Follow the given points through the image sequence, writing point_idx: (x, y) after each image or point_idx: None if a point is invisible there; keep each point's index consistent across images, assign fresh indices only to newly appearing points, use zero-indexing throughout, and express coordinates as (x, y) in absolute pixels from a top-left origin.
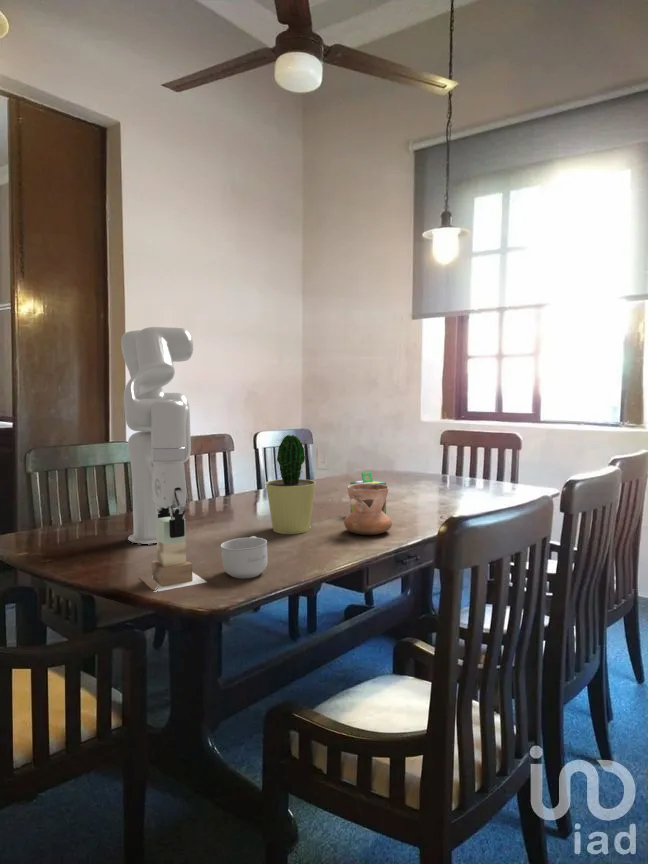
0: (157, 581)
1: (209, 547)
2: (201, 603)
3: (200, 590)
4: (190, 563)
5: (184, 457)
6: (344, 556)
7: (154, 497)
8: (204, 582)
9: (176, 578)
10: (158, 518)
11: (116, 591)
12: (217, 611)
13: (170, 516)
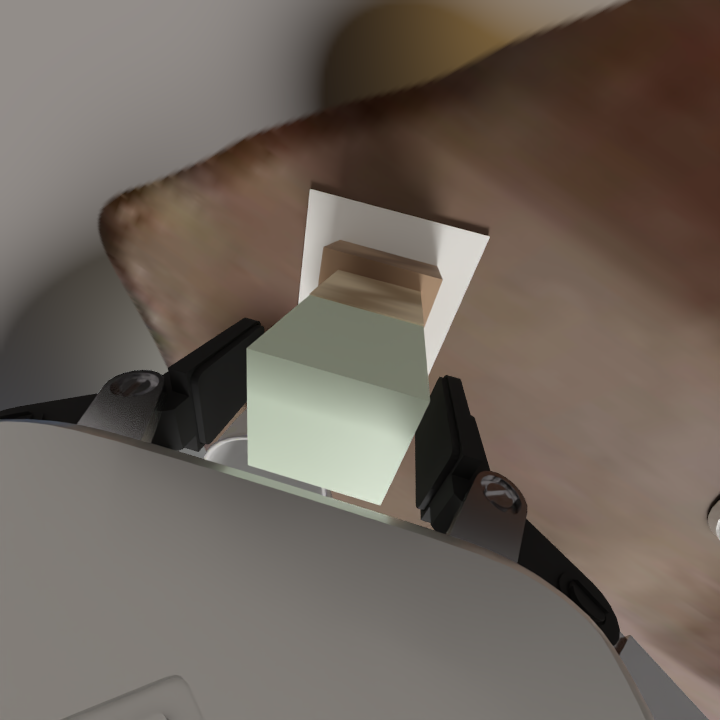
0: (381, 251)
1: (536, 513)
2: (170, 243)
3: (261, 303)
4: None
5: None
6: None
7: (461, 689)
8: None
9: None
10: (408, 404)
11: (438, 80)
12: (104, 236)
13: (419, 485)
